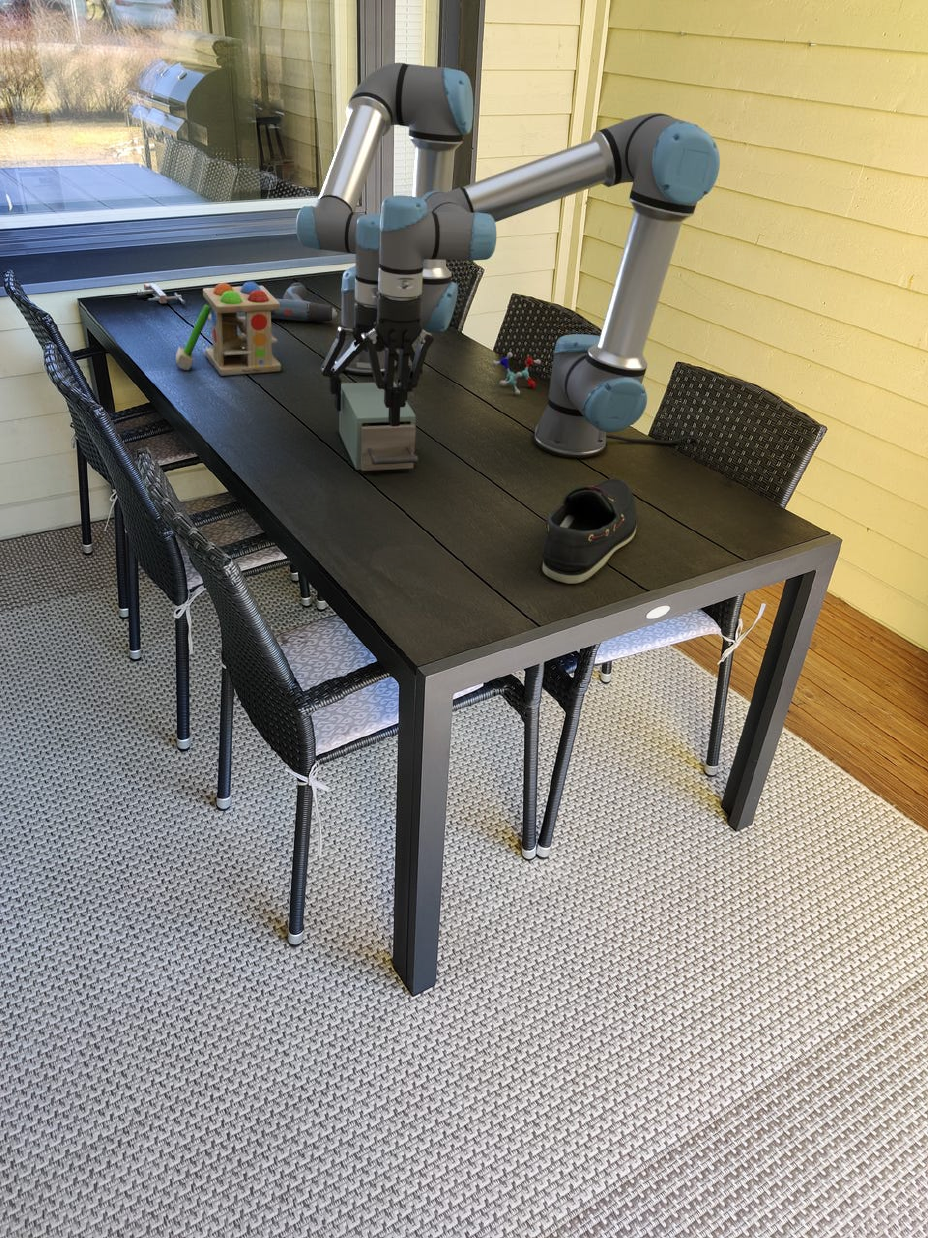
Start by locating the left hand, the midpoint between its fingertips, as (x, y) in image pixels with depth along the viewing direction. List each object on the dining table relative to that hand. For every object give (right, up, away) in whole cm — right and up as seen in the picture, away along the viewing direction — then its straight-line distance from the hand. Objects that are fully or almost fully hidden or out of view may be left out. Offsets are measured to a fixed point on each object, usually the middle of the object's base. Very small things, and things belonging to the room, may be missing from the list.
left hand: (370, 407), depth 199 cm
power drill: (-24, +40, +68) cm, 83 cm away
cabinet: (+1, -9, 0) cm, 9 cm away
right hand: (+6, -7, -18) cm, 20 cm away
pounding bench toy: (-37, +17, +31) cm, 51 cm away
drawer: (+3, -11, -6) cm, 13 cm away
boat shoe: (+41, -29, -25) cm, 56 cm away
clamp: (-64, +44, +67) cm, 102 cm away
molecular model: (+30, +12, +34) cm, 47 cm away
